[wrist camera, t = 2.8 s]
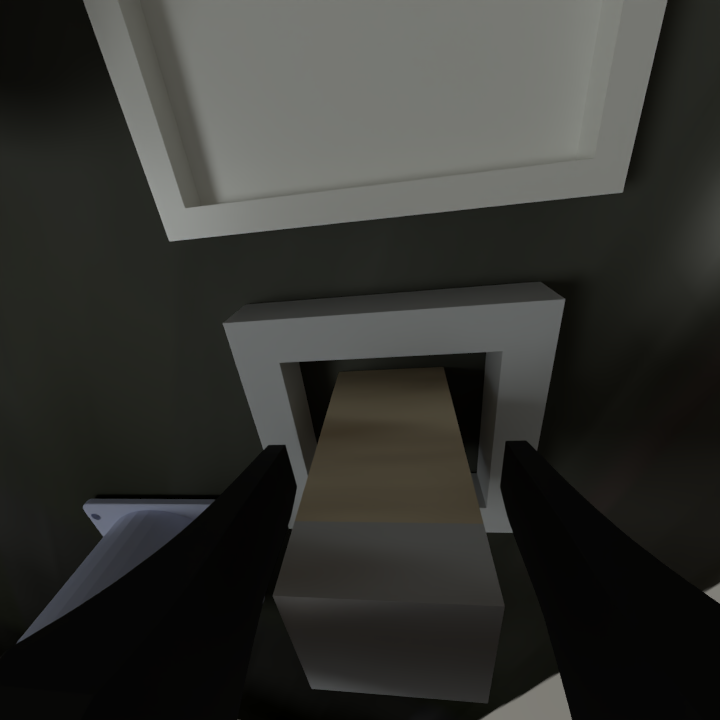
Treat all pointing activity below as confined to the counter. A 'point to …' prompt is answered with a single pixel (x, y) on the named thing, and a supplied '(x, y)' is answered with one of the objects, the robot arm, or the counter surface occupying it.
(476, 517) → the peg
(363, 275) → the counter surface
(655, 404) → the counter surface
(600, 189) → the tray
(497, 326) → the holder
